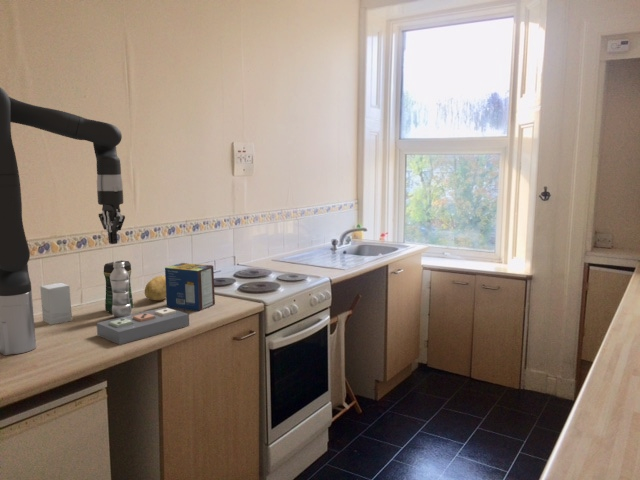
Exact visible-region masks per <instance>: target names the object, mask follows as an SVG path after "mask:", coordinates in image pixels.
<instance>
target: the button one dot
mask: <svg viewBox="0 0 640 480" xmlns="http://www.w3.org/2000/svg"><path fill="white" fill-rule="evenodd" d="M169 308H170V307H167V308H166V309H161V310H157V311H155V314H157V315H160V316H167V315H171V314H175V313H176V310H177V309H174V310H172V309H173V308H171V309H169Z"/></svg>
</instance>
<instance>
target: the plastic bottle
mask: <svg viewBox="0 0 640 480" xmlns="http://www.w3.org/2000/svg"><path fill="white" fill-rule="evenodd" d="M124 261H125V260H122V261H121V260H116V261H112V262H113V268H114V270H113V271H112V273H111V274H110V282H111V286H112V292H113V305H112V313H111V314H112V316H113V317H114V318H120V317H125V316H129V315H132V309H133V308H131V304H130V299H129V274H128V272H127V271H126V270H125V269H124V267H125V262H124Z"/></svg>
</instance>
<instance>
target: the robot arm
mask: <svg viewBox="0 0 640 480" xmlns="http://www.w3.org/2000/svg"><path fill="white" fill-rule="evenodd" d="M12 123H13V124H19V125H24V126H26V127H32V128H34V129H39V130H42V131H45V132H49V133H52V134H55V135H59V136H61V137H65V138H68V139H69V138H70V139H73V140H79V141H88V142H89V143H92V144H93V151H94V154H95V159H96V174H97V175H96V193H97V194H96V195H97V204H98V205H101V207H102V208H101V210H102V212H100V213H98V218H99V221H100V223H101V225H102V227H103V230H106V232H107V237H108V238H107V239H108V244H110V245H116V244H118V232H119V231H121V230H122V227H123V225H124V222H125V219H126V216H125V215H122V213H121V208H120V205H123V204H124V188H123V179H122V169H121V167H122V166H121V159H120V158H119V157H118V155H117V154H118V153H117V146H118V145H119V144H120V143H121V142H122V139H123V138H122V137H123V136H122V132H121V130H120V129H119V127H117V126H116V125H114V124H112V123H108V122H103V121H98V120H94V119H91V118H90V119H89V118H86V117H82V116H80V115H77V114H73V113H70V112H67V111H63V110H59V109H54V108H49V107H43V106H38V105H34V104H30V103H27V102H22V101H21V100H18V99H15V98H13V97H11V96H9V94H8V93H7V92H6V90H4V89H3V88H2V87H0V354H2V355H4V356H8V355H19V354H23V353H27V352H30V351H33V350H34V349H35V348H36V347H37V342H36V341H37V340H36V328H35V327H36V326H35V317H34V304H33V291H32V282H31V278H30V274H29V265H28V263H29V260H30V256H31V252H30V248H29V244H28V240H27V236H26V232H25V228H24V224H23V223H24V221H23V205H22V202H23V201H22V190H21V179H20V174H19V167H18V162H17V161H18V160H17V157H16V152H15V147H14V144H13V139H12V138H13V137H12V131H11V129H12V125H11V124H12Z"/></svg>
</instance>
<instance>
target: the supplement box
mask: <svg viewBox="0 0 640 480" xmlns="http://www.w3.org/2000/svg"><path fill="white" fill-rule="evenodd" d="M70 286H71V285H69V284H66V283H63V282H57V283H51V284H45V285H41V286H40V287H39V289H40V300H41V309H42V310H41V312H42V313H41V314H42V321H43V322H44V321H45V323H47V324H48V325H51V326H52V325H58V324H62V323H67V322H71V321H73V316H72V315H73V314H72V302H71V289H70V288H71V287H70Z"/></svg>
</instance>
